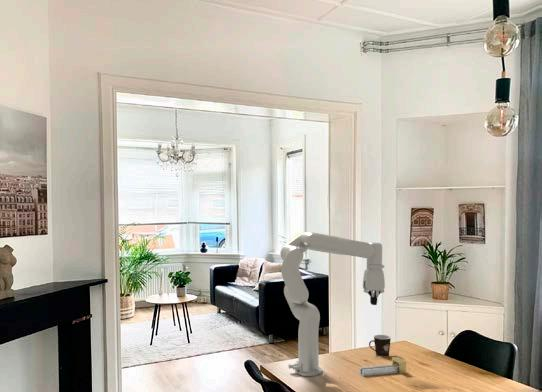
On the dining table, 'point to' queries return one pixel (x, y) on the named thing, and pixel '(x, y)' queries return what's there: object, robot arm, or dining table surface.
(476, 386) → the dining table surface
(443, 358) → the dining table surface
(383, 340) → the coffee mug
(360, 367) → the grey rod
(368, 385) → the dining table surface
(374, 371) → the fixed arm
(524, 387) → the dining table surface
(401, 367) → the beige textured block
